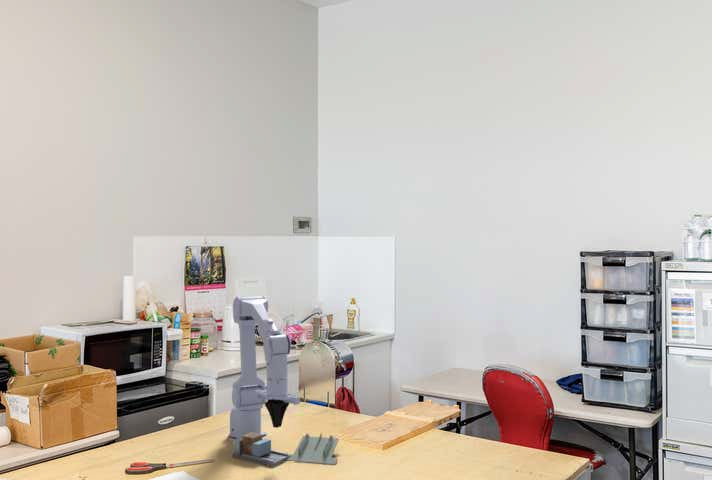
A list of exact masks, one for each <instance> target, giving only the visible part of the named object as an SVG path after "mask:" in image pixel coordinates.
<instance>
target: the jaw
mask: <svg viewBox="0 0 712 480" xmlns="http://www.w3.org/2000/svg"><path fill="white" fill-rule="evenodd" d="M271 450H272V439H270V438H266V437H265V438H264V437H263V438H262V439H261V440H259V441H257V442H254V443H253V444H252V454H253V456H258V457H261V456H263V455H265V454H267V453H269V452H271Z"/></svg>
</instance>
